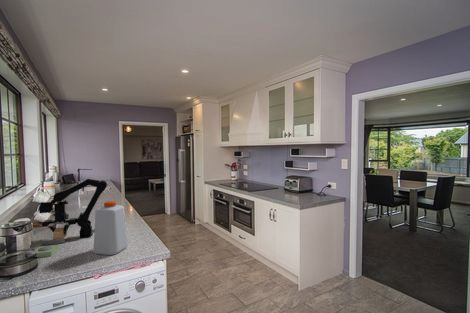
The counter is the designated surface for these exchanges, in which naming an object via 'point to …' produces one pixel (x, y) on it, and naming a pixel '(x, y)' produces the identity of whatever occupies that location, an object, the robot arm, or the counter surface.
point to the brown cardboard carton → (59, 233)
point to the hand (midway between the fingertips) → (60, 235)
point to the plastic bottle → (110, 229)
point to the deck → (48, 247)
